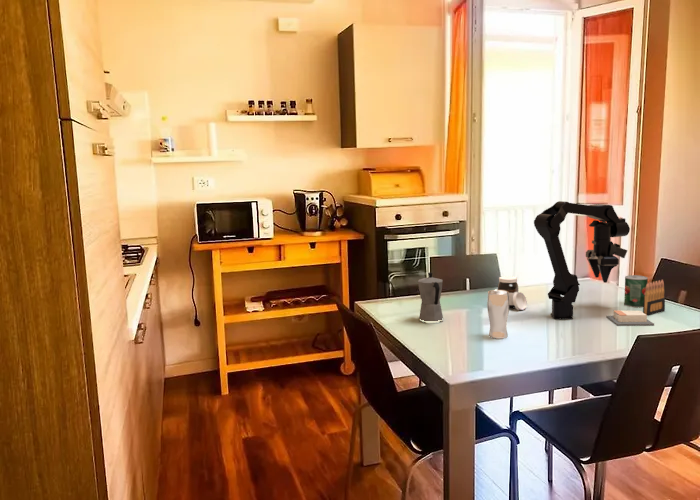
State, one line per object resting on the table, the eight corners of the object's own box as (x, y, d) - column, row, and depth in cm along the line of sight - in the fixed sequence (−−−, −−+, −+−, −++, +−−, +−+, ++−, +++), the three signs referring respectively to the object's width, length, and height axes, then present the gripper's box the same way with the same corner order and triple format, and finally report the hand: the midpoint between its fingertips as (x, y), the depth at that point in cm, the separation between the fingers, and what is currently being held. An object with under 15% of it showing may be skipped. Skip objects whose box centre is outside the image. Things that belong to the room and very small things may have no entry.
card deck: (646, 321, 194) (646, 314, 194) (619, 322, 195) (619, 314, 195) (639, 317, 200) (640, 310, 200) (613, 317, 201) (613, 310, 201)
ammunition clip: (647, 315, 204) (648, 283, 202) (642, 314, 205) (643, 282, 204) (664, 311, 209) (666, 279, 207) (659, 310, 211) (661, 278, 209)
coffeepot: (413, 316, 214) (412, 270, 211) (437, 314, 216) (436, 268, 213) (425, 327, 199) (425, 277, 196) (451, 325, 201) (450, 276, 198)
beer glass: (485, 333, 190) (485, 289, 188) (506, 332, 190) (506, 289, 187) (489, 339, 183) (489, 294, 181) (511, 339, 183) (511, 294, 181)
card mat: (617, 325, 193) (617, 324, 193) (606, 317, 204) (606, 315, 204) (654, 325, 192) (654, 323, 192) (641, 316, 202) (641, 315, 202)
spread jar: (500, 302, 230) (500, 274, 229) (529, 305, 225) (529, 276, 224) (494, 310, 220) (494, 280, 218) (524, 312, 215) (524, 282, 213)
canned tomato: (650, 307, 215) (651, 278, 213) (629, 307, 215) (630, 279, 214) (640, 302, 223) (641, 274, 221) (620, 302, 223) (621, 275, 222)
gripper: (634, 241, 198) (633, 284, 200) (615, 234, 216) (614, 274, 219) (601, 242, 199) (600, 285, 201) (585, 235, 218) (584, 275, 220)
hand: (600, 279), depth 210 cm, fingers open, 9 cm apart
